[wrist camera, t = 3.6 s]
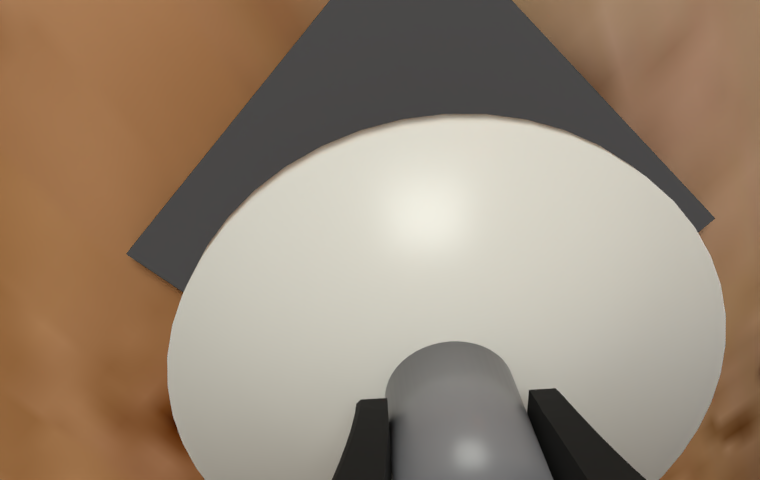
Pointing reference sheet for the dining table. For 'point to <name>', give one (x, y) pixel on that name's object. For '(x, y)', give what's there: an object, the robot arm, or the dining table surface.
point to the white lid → (446, 307)
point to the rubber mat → (389, 106)
